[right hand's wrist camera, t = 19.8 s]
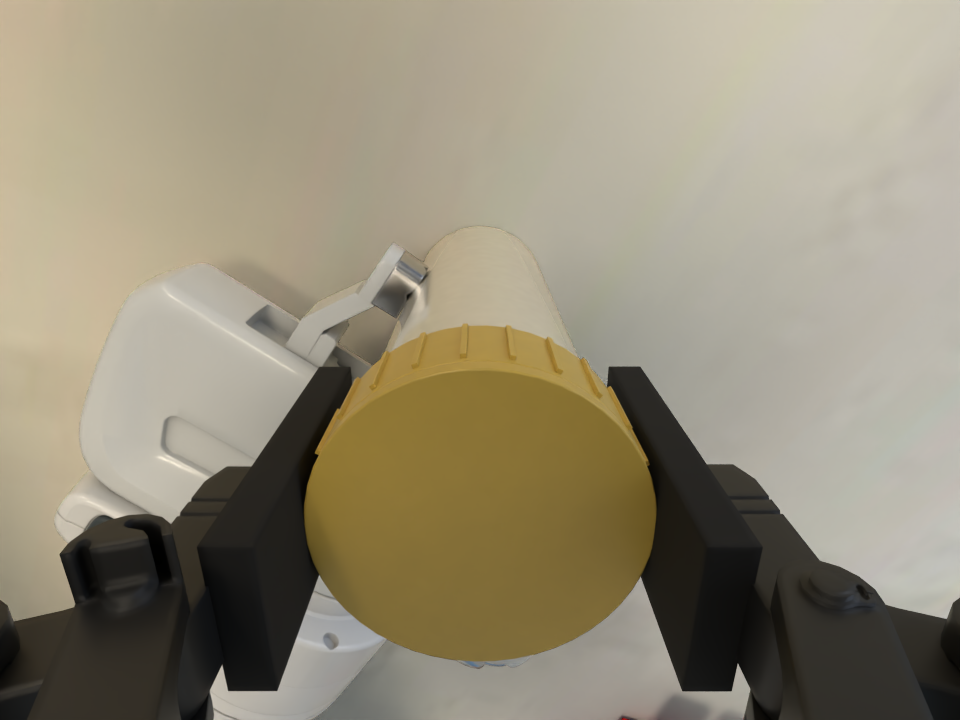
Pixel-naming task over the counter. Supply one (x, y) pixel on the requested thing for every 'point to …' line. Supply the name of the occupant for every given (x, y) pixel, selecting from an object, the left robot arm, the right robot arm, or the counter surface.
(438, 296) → the jar
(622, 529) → the lid
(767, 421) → the counter surface
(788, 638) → the right robot arm
